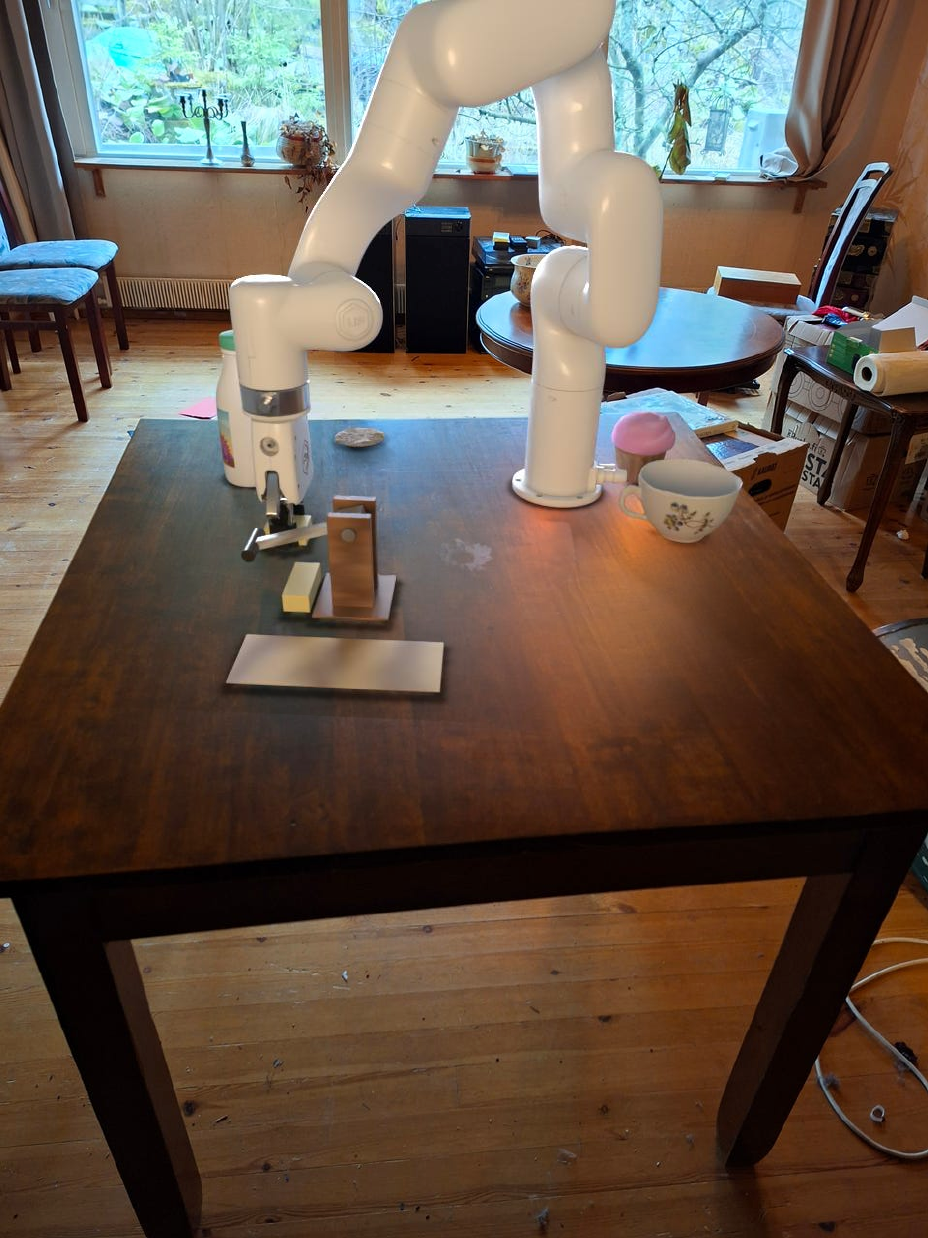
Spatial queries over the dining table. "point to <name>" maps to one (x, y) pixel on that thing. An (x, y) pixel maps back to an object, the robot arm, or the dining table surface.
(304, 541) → the butter pat
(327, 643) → the serving board
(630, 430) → the cupcake
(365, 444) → the flatbread
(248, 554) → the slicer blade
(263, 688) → the dining table surface
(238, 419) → the milk bottle
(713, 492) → the teacup
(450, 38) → the robot arm
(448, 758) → the dining table surface
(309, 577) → the butter stick
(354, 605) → the wooden stand
